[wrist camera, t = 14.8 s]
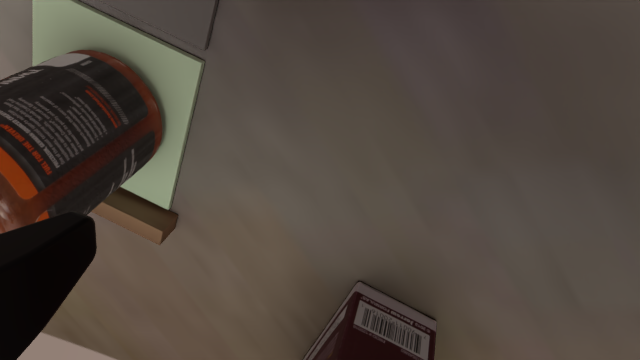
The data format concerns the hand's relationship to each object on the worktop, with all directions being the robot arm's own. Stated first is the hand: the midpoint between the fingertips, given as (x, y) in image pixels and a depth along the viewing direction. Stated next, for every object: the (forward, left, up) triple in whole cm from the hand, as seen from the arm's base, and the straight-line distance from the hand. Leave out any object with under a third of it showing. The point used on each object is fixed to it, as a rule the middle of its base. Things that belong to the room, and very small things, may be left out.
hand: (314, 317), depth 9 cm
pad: (+14, -2, -12) cm, 18 cm away
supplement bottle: (+13, -2, -12) cm, 18 cm away
